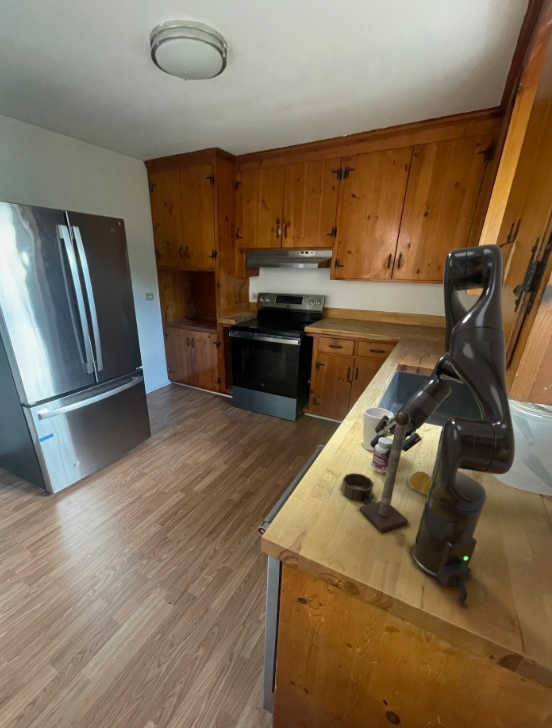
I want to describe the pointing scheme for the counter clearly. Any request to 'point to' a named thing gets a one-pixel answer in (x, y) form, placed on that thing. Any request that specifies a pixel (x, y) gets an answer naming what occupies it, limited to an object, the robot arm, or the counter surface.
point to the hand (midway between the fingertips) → (379, 451)
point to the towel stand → (382, 511)
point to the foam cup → (372, 424)
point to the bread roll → (420, 482)
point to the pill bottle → (381, 454)
